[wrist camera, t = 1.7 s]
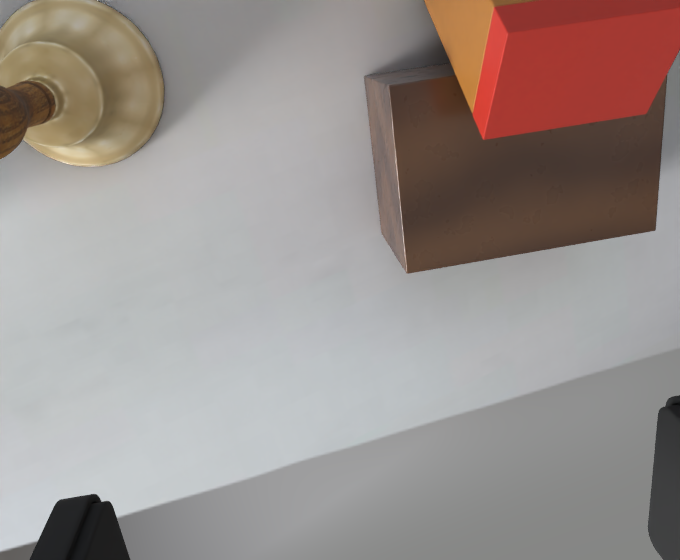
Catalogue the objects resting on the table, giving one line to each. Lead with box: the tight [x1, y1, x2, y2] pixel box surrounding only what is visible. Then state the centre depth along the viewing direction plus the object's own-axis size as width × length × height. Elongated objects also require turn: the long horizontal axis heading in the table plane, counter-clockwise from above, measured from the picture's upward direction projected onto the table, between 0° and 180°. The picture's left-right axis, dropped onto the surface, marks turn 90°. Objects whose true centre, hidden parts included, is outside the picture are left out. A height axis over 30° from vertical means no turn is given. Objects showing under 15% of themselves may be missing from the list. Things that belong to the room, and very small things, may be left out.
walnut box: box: [364, 63, 667, 273], centre depth 32 cm, size 9×13×6 cm
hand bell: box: [0, 0, 164, 167], centre depth 24 cm, size 8×8×16 cm
